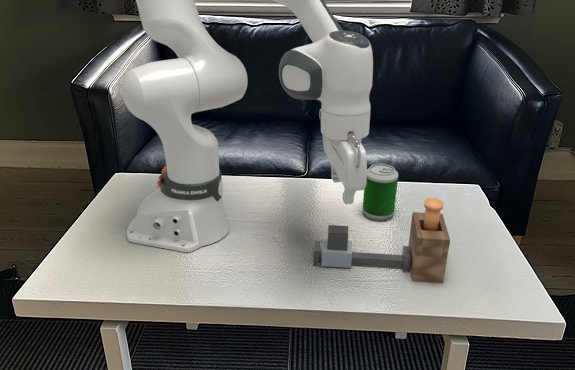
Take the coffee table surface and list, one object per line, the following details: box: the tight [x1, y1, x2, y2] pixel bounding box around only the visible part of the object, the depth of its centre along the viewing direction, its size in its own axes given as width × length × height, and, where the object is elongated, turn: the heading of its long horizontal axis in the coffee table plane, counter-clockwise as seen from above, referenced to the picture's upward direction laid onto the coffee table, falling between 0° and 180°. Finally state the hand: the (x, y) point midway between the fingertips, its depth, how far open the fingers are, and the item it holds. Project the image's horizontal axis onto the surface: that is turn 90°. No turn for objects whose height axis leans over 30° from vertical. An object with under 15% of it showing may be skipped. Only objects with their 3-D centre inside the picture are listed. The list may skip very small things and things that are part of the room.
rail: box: [312, 240, 411, 273], centre depth 115 cm, size 19×4×4 cm, turn 84°
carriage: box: [320, 224, 353, 269], centre depth 115 cm, size 6×5×8 cm
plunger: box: [423, 197, 445, 231], centre depth 110 cm, size 4×4×6 cm
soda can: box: [362, 163, 399, 222], centre depth 132 cm, size 8×8×12 cm
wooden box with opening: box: [407, 211, 451, 284], centre depth 113 cm, size 6×10×10 cm, turn 174°
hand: (341, 191), depth 109 cm, fingers open, 8 cm apart
